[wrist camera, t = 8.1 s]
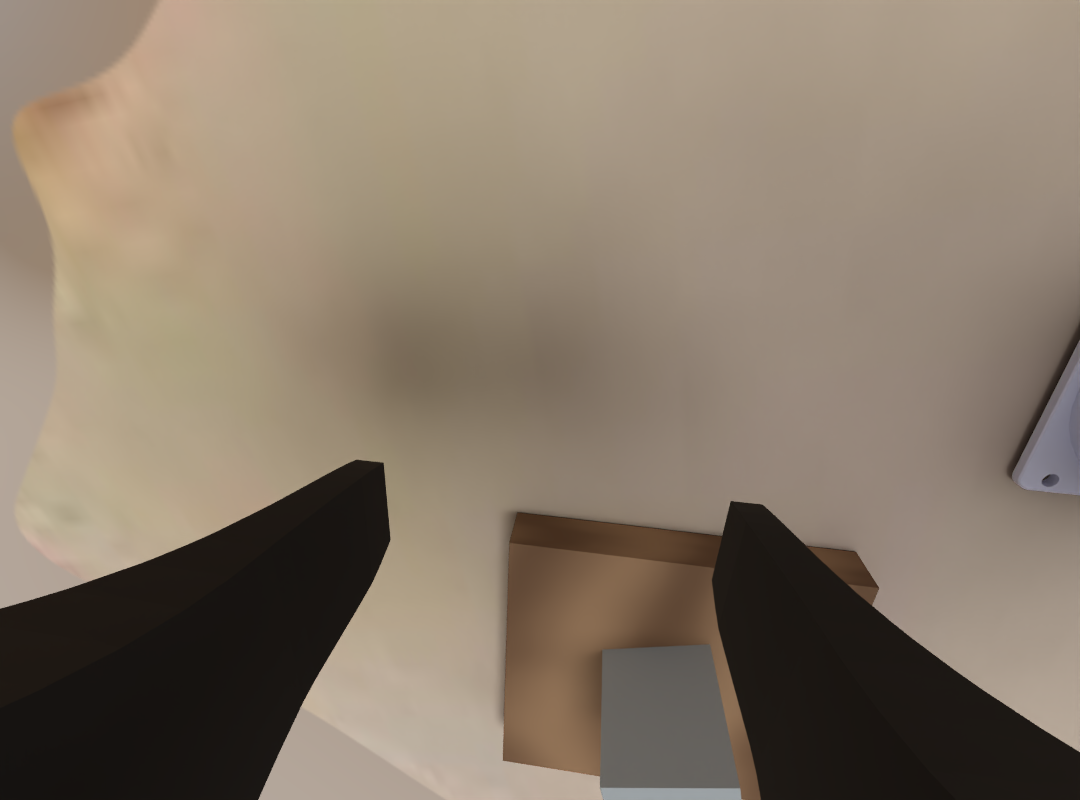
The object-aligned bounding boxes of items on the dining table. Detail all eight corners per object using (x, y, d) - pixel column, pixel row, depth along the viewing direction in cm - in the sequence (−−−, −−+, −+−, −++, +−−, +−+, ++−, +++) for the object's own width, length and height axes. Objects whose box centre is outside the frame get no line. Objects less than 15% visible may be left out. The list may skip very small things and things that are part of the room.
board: (855, 552, 21) (879, 588, 19) (774, 763, 27) (786, 806, 25) (517, 512, 22) (509, 542, 21) (509, 722, 28) (503, 760, 26)
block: (710, 644, 21) (740, 788, 16) (718, 716, 23) (748, 867, 18) (602, 649, 22) (600, 787, 17) (618, 719, 24) (620, 863, 19)
